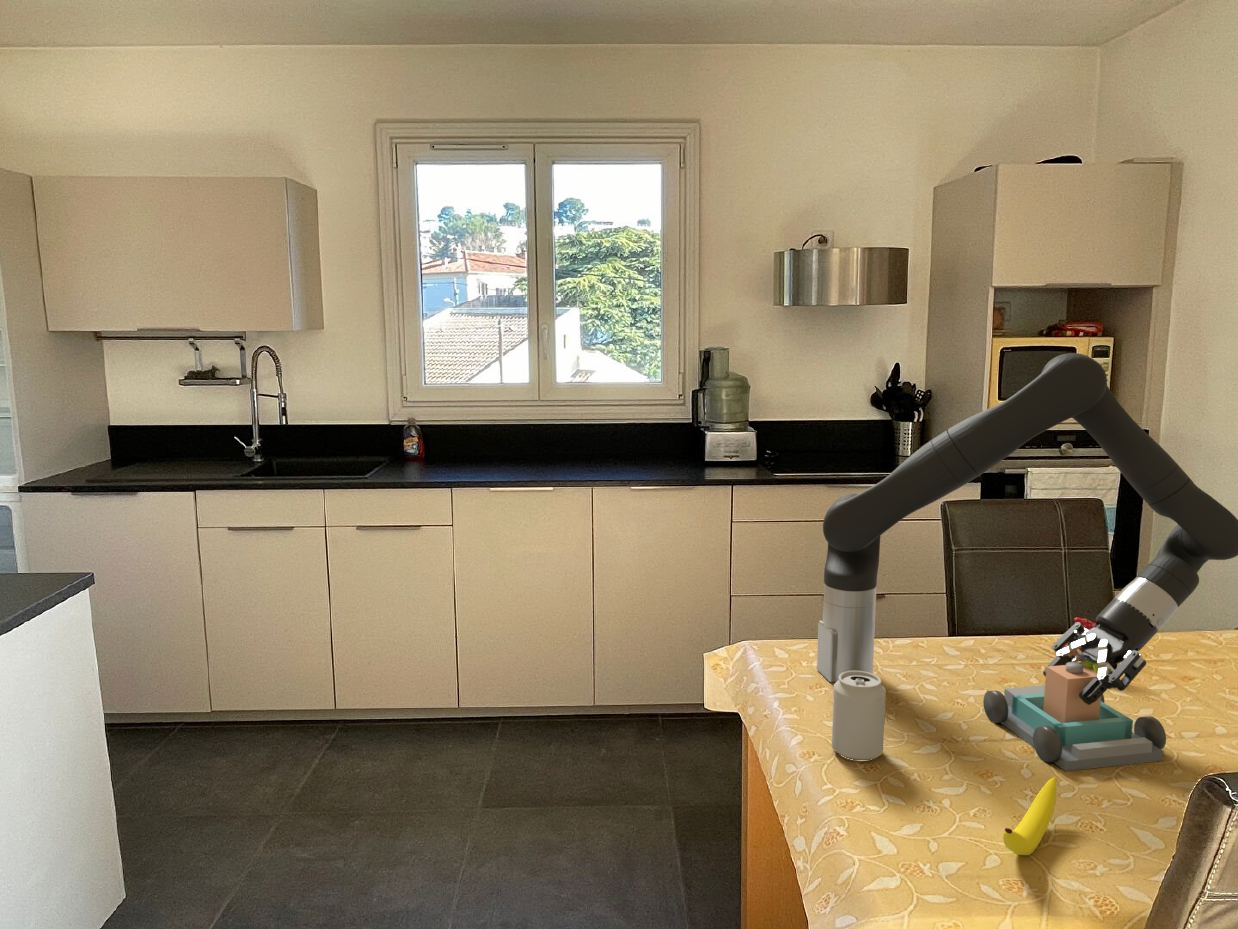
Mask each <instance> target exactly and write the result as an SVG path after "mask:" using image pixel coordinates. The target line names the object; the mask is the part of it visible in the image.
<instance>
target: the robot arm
mask: <svg viewBox="0 0 1238 929" xmlns="http://www.w3.org/2000/svg"><path fill="white" fill-rule="evenodd" d="M1071 418H1072V419H1073V420H1074V421H1076V422H1077V423H1078V424H1079V425H1080V426H1081V427H1082V428H1083V429H1084V430H1085V431H1086V432H1087V433H1088V434H1089V435H1090V436H1091V437H1092V438H1093V440H1095V441H1096V443H1097V444H1098V445H1099V446H1100V448H1101V449H1102V450H1103V451H1104V453H1105V455H1107V456H1108V458H1109V459H1110V461H1112V463H1113V464H1114V466H1116V468H1117V470H1118V471H1119V472H1120V473H1121V474H1122V476H1123V477H1124V478H1125V479H1126V481H1127V482H1128V484H1130V486H1131V487H1132V488H1133V489H1134V490H1135V491H1136V492H1137V494H1138V495H1139V496H1140V497H1141V499H1142V500H1143V501H1144V502H1145V503H1146V504H1147V505H1148V506H1149V508H1151V509H1152V511H1154V512H1155V513H1157V515H1159V516H1162V517H1165V518H1167V519H1170V520H1172V521H1174V522H1175V523H1176V524H1177V525H1176V526H1175V527H1173V529H1172V530H1170V533H1169V534H1168V536H1167V537H1166V539H1165V540H1164V542H1163V543H1162V545H1161V547H1160V548H1159V550H1158V552H1157V554H1156V556H1155V558H1154V559H1153V560H1152V561H1151V562H1149V564H1148V565H1147V566H1146V567H1145V568H1144V569H1143V570H1142V571H1141V572H1140V573H1139V574H1138V575H1137V576H1136V577H1135V578H1134V579H1133V580H1132V581H1130V582H1129V583H1128V584H1126V586H1125V587H1123V588H1122V589H1121V591H1119V592H1118V594H1116V595H1115V597H1114V598H1113V599H1112V600H1111V601H1109V603H1108V604H1107V605H1106V606H1105V607H1104V608H1103V609H1102V610H1101V611H1100V613H1098V615H1096V618H1095V623H1096V625H1095V626H1094V627H1093V628H1091V629H1090V630H1087V629H1086V628H1084V627H1083V626H1082V625H1081V623H1080V622H1076V623H1075V622H1074V624H1073V625H1071V627H1070V628H1068V630H1066V631H1065V632H1063V634H1062V635H1060V636H1061V637H1060V636H1059V637H1058V639H1057V640H1056V641H1055V642H1054V643H1053V644H1052V645H1051V648H1052V649H1053V650H1054V652H1055V654H1056V655H1055V657H1054V658H1053V659H1052V660H1051V661H1050V663H1049V664H1047V666H1046V667H1048V666H1060V665H1066V663H1068V662H1078V663H1080V662H1085V661H1090V662H1092V663H1095V664H1097V665H1098V667H1099V668H1098V679H1096V678H1094V679H1093V680H1092V681H1091V682H1090V683H1089V684H1088V685H1087V686H1086V687H1085V688H1084V689H1083V690H1082V691H1081V692H1080V694H1079V697H1080V698H1081V699H1082V700H1083V702H1084V703H1086V704H1088V705H1090V704H1092V703H1094V702H1095V701H1097V700H1098V698H1099V697H1100V696H1101V695H1102V694H1103V695H1104V694H1105V692H1106V691H1107V690H1111V689H1117V690H1118V691H1120V692H1122V691H1125V689H1127V687H1128V686H1129V685H1130V684H1131V683H1132V681H1133V680H1134V679H1135V678H1136V677H1137V676H1138V675H1139V674H1140V672H1142V670H1143V669H1144V667H1146V665H1147V661H1146V660H1145V659H1144V657H1143V656H1142V655H1141V654H1140V653H1139V651H1141V650H1142V649H1143V648H1144V647H1145V646H1146V645H1147V644H1148V642H1150V641H1151V640H1152V638H1154V636H1156V634H1157V633H1158V632H1159V631H1160V630H1161V629H1162V628H1163V627H1164V626H1165V624H1166V623H1168V621H1169V620H1170V619H1171V618H1172V616H1173V614H1174V613H1175V612H1176V611H1177V610H1178V608H1179V607H1180V606H1181V605H1182V604H1183V603H1184V602H1185V601H1186V600H1187V599H1188V598H1189V597H1190V596H1191V595H1192V594H1193V593H1194V591H1195V590H1196V589H1197V587H1198V585H1199V584H1200V577H1199V574H1198V572H1199V571H1200V569H1202V567H1203V566H1204V565H1205V564H1206V563H1207V562H1208V561H1209V560H1210V561H1211V560H1212V561H1227V560H1231V559H1234V558H1235V557H1238V518H1237V517H1236V516H1235V515H1234V514H1233V512H1231V511H1230V510H1229V509H1227V508H1226V507H1225V506H1224V505H1223V504H1222V503H1219V501H1217V499H1215V498H1213V496H1211V495H1209V493H1207V492H1205V491H1204V490H1203V489H1201V488H1200V487H1198V486H1197V485H1196V484H1195V482H1194V481H1193V480H1192V478H1190V476H1189V475H1188V474H1187V472H1185V471H1184V470H1183V469H1182V467H1181V466H1180V465H1179V464H1178V463H1177V462H1176V461H1175V460H1174V458H1172V456H1171V455H1170V454H1169V453H1168V452H1167V451H1166V450H1165V449H1164V448H1163V447H1162V446H1161V445H1160V444H1158V442H1157V441H1155V440H1154V439H1153V437H1152V436H1150V435H1149V434H1148V433H1147V432H1146V431H1145V430H1144V429H1143V428H1142V427H1141V426H1140V425H1139V424H1138V423H1137V422H1136V421H1135V420H1134V418H1132V417H1131V416H1130V415H1129V414H1128V412H1127V411H1126V410H1125V409H1124V408H1123V406H1122V405H1121V404H1120V402H1119V401H1118V400H1117V398H1116V396H1115V395H1114V394H1113V392H1112V391H1111V389H1110V387H1109V386H1108V378H1107V374H1106V371H1105V369H1104V368H1103V367H1102V365H1101V364H1100V363H1099V362H1098V361H1097V360H1095V359H1094V358H1092V357H1090V356H1088V355H1086V354H1084V353H1083V354H1082V353H1079V352H1067V353H1066V352H1065V353H1063V354H1060V355H1057V356H1055V357H1053V358H1052V359H1050V360H1049V361H1048V362H1047V363H1046V364H1045V366H1044V367H1043V369H1042V371H1041V372H1040V374H1039V375H1038V376H1037V377H1035V379H1033V380H1032V381H1031V382H1029V383H1028V384H1027V385H1025V386H1024V387H1022V388H1021V389H1019V390H1018V391H1017V392H1016V393H1014V394H1013V395H1011V396H1010V397H1009V398H1006V400H1004V401H1002V402H1000V403H998V404H996V405H994V406H992V407H989V408H987V409H985V410H983V411H980V412H978V413H976V414H974V415H971V416H970V417H967V418H965V419H964V420H961V421H959V422H958V423H955V425H952V426H951V427H949V428H948V429H946V430H944V431H943V432H941V433H940V434H938V435H937V436H935V437H934V438H932V439H931V440H929V441H927V443H925V444H923V445H921V447H919V449H917V450H916V451H915V452H913V453H912V454H911V455H909V457H907V458H906V459H904V461H903V462H901V464H899V465H898V466H897V467H896V468H895V469H894V470H893V471H892V472H890V474H888V475H887V476H886V477H885V478H883V479H882V480H880V481H879V482H877V483H876V484H874V485H873V486H870V487H868V488H867V489H865V490H864V491H862V492H859V493H848V494H845V495H842V496H840V497H839V498H838V499H836V500H835V501H834V502H833V504H832V505H831V506H830V507H829V509H828V510H827V511H826V513H825V515H824V518H823V522H822V523H823V524H822V532H823V536H824V538H825V540H826V542H827V551H826V561H825V565H824V571H823V572H824V573H823V599H822V600H823V606H822V620H819V621H818V622H817V623H818V624H817V654H816V655H817V656H816V658H817V660H816V670H817V671H818V672H819V673H820V674H821V675H822V676H823V677H824V678H825V679H826V680H827V681H828V682H830V683H836V682H837V681H838V680H839V678H838V677H839V675H840V674H841V673H843V672H847V671H864V672H869V673H872V674H874V673H873V672H874V656H875V655H874V653H875V652H874V651H875V629H876V628H875V627H876V626H875V625H876V609H877V608H876V606H877V604H876V603H877V583H878V581H877V580H878V572H879V565H880V547H881V536H882V535H883V534H884V533H885V532H886V531H888V530H890V528H892V527H893V526H895V525H896V524H897V523H899V522H900V521H901V520H903V519H904V518H906V517H907V516H909V515H911V514H912V513H913V514H914V512H916V511H918V510H920V509H923V508H925V507H926V506H928V505H930V504H933V503H935V502H936V501H938V500H940V499H942V498H944V497H946V496H948V495H949V494H950V493H952V492H955V491H956V490H958V489H960V488H962V487H964V486H965V485H967V484H968V483H970V482H971V481H973V480H974V479H976V478H978V477H979V476H981V475H983V474H985V472H987V471H989V470H990V469H991V468H993V467H994V466H996V465H997V464H999V463H1000V462H1002V461H1003V460H1005V459H1006V458H1007V457H1009V456H1010V455H1012V454H1013V453H1014V452H1016V451H1017V450H1019V449H1020V448H1021V447H1022V446H1024V444H1026V443H1027V442H1029V441H1030V440H1032V439H1033V438H1036V437H1037V436H1038V435H1041V434H1042V433H1044V432H1045V431H1048V430H1050V429H1052V428H1053V427H1055V426H1057V425H1060V424H1061V423H1063V422H1065V421H1067V420H1069V419H1071ZM1066 642H1068V645H1067V646H1066V647H1065V648H1062V646H1063V645H1064V644H1065V643H1066ZM1079 648H1082V652H1081V651H1080V650H1079ZM1069 654H1074V655H1072V656H1069ZM1046 667H1044V670H1043V672H1042V675H1043V676H1044V678H1046ZM1123 675H1124V676H1123ZM1122 676H1123V677H1122ZM1121 677H1122V678H1121Z"/></svg>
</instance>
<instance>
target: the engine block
mask: <svg viewBox="0 0 1238 929" xmlns="http://www.w3.org/2000/svg"><path fill="white" fill-rule="evenodd" d="M1079 663H1080V662H1078V663H1075V662H1068V663H1066V665H1060V666H1048V665H1047V666H1048V667H1047V666H1045V668H1046V677H1045V682H1044V685H1045V694H1044V707H1043V711H1044V712H1045V713H1047V714H1048V715H1050V716H1051V717H1053V718H1054V719H1056V720H1057V721H1059V722H1060V723H1069V722H1079V721H1089V720H1099V715H1100V704H1101V696H1100V697H1099V698H1098V700H1097V701H1095V702H1094V703H1092V704H1090V705H1088V704H1086V703H1084V702H1083V700H1082V699H1081V698H1080V697H1079V694H1080V692H1081V691H1082V690H1083V689H1084V688H1085V687H1086V686H1087V685H1088V684H1089V683H1090V682H1091V681H1092V680H1093V679H1094V678H1096V679H1098V673H1097V672H1095V671H1093V670H1091V669H1089V668H1087V667H1086V666H1084V665H1082V664H1079Z"/></svg>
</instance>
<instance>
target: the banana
mask: <svg viewBox="0 0 1238 929" xmlns="http://www.w3.org/2000/svg"><path fill="white" fill-rule="evenodd" d="M1056 796H1057V777H1055V776H1053V777H1051V778H1050V779H1048V781H1047V782H1046V783H1045V784H1044V785H1043V786H1042V788H1041V789H1040V790H1039V791H1038V793H1037V795H1036V796H1035V798H1034V799H1033V801H1032V803H1031V805H1030V806H1029V808H1028V809H1027V811H1026V813H1025V814H1024V816H1023V817H1022V819H1021V820H1020V822H1019V823H1018V825H1017V826H1016V827H1015V828H1014V829H1011V828H1008V827H1005V828H1004V831H1003V833H1002V839H1003V842H1004V846H1005V847H1006V849H1008V850H1009V851H1011V852H1013V853H1014V854H1015V855H1017V856H1030V855H1031V854H1033V853H1034V852H1035V850H1036V849H1037V847H1038V846H1039V844H1040V842H1041V840H1042V839H1043V837H1044V835H1045V833H1046V830H1047V828H1048V827H1049V824H1050V822H1051V820H1052V817H1053V814H1054V812H1055V811H1054V810H1055V806H1056V798H1057V797H1056Z"/></svg>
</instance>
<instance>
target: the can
mask: <svg viewBox="0 0 1238 929" xmlns="http://www.w3.org/2000/svg"><path fill="white" fill-rule="evenodd" d="M838 678H839V680H838V681H837V682H834V684H833V701H832V726H831V729H832V730H831V746H832V749H833V750H834V751H835V752H836V753H837V754H838V753H839V754H840V755H842V756H844V757H846V758H849V759H853V760H871V759H874V758H875V759H876V758H878V757H879V756H880V755H882V753H883V752H884V739H885V737H884V736H885V735H884V734H885V719H886V718H885V715H886V714H885V713H886V697H887V696H886V695H887V694H886V693H887V691H886V688H885V687H884V686H883V684H882V682H883V681H882V679H881V678H880V677H879V675H877V674H874V673H873V674H872V673H869V672H864V671H847V672H843V673H841V674H840V675H839V677H838ZM839 754H838V755H839ZM840 755H839V756H840ZM842 756H841V757H842ZM875 759H874V760H875Z"/></svg>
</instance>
